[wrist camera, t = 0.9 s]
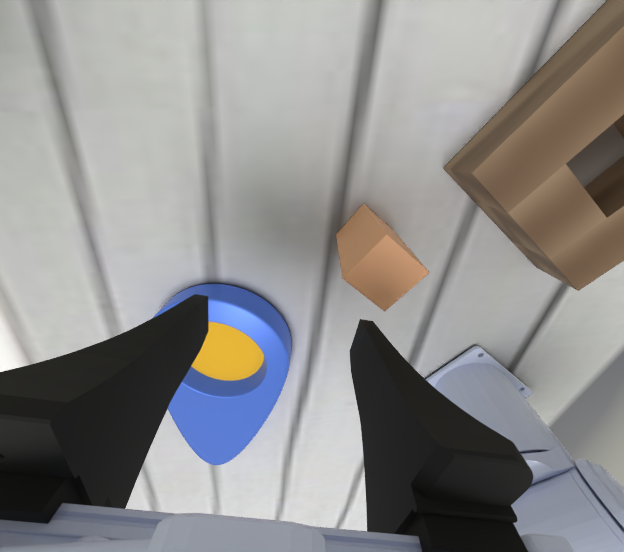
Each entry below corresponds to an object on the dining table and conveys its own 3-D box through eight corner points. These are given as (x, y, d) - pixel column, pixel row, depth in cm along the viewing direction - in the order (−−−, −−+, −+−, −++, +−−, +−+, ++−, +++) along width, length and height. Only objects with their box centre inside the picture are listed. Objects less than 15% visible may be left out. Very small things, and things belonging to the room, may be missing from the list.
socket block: (706, 141, 17) (805, 140, 14) (536, 267, 22) (578, 290, 18) (621, -14, 14) (719, -67, 11) (443, 168, 19) (471, 172, 15)
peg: (392, 229, 21) (429, 272, 14) (364, 258, 22) (384, 311, 15) (363, 203, 20) (386, 234, 13) (335, 234, 21) (342, 278, 14)
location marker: (270, 448, 36) (302, 296, 24) (265, 477, 33) (299, 318, 21) (172, 433, 35) (157, 268, 23) (158, 460, 32) (132, 287, 20)
